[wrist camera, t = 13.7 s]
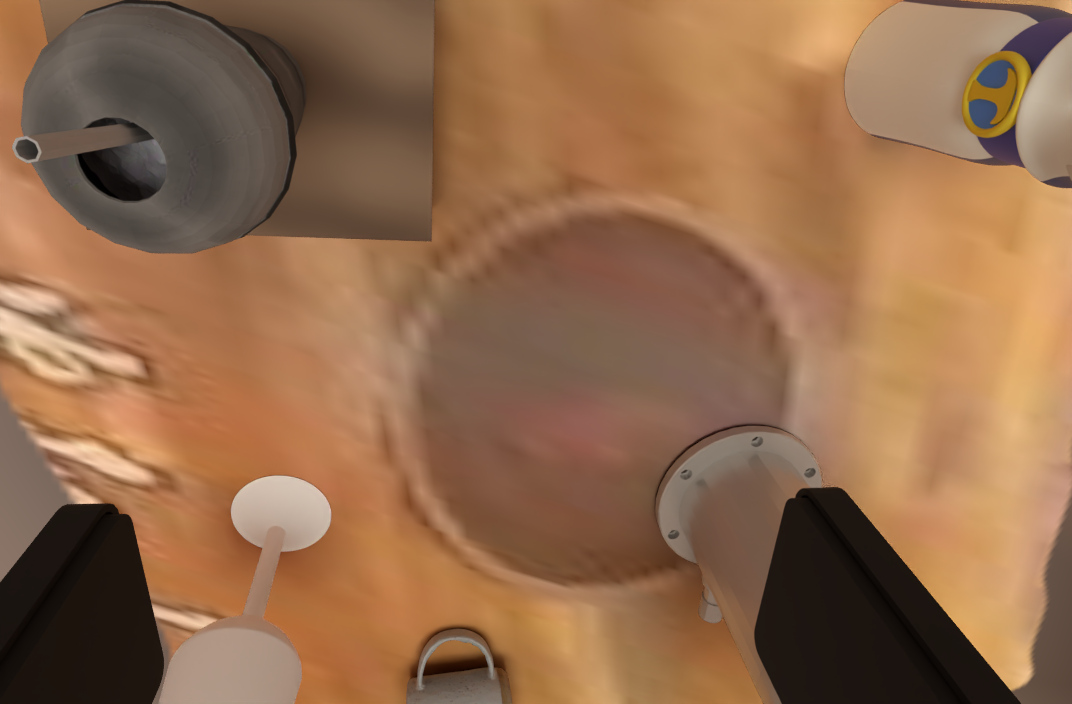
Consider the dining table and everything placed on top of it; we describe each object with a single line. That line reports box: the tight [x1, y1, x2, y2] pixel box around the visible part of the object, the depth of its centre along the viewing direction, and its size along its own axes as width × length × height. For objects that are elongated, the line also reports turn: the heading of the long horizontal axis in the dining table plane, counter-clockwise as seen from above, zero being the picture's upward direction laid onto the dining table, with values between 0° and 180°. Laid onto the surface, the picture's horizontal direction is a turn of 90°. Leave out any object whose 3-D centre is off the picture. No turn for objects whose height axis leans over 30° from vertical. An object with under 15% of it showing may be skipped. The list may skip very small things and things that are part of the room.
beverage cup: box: [12, 0, 307, 253], centre depth 23 cm, size 7×7×20 cm
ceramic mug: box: [406, 629, 512, 704], centre depth 55 cm, size 11×8×8 cm
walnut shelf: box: [39, 0, 435, 241], centre depth 34 cm, size 14×16×6 cm
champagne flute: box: [159, 476, 331, 704], centre depth 39 cm, size 7×7×24 cm
